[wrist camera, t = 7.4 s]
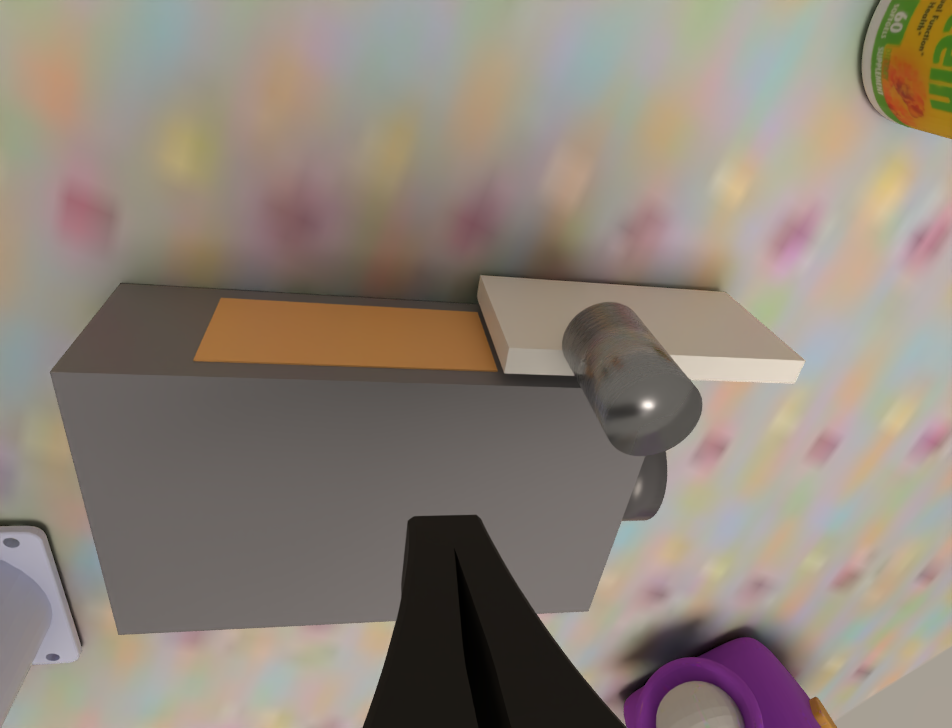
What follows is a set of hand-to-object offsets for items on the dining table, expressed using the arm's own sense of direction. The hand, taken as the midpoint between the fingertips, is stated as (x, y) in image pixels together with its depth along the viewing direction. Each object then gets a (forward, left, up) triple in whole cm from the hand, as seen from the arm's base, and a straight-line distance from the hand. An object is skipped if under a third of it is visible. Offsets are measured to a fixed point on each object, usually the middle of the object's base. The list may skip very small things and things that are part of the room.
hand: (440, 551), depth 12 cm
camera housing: (-1, -5, -10) cm, 11 cm away
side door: (+7, +2, -10) cm, 12 cm away
